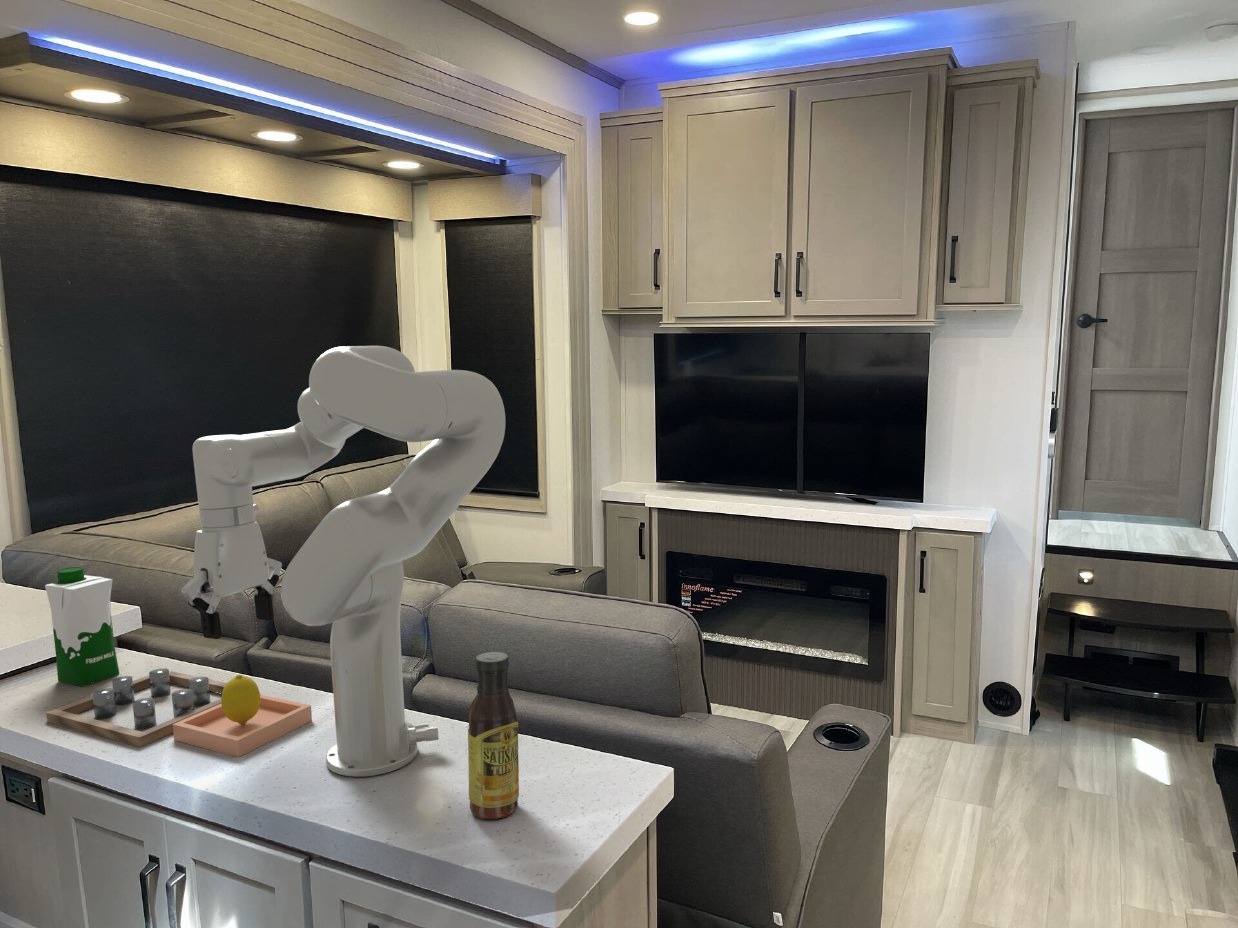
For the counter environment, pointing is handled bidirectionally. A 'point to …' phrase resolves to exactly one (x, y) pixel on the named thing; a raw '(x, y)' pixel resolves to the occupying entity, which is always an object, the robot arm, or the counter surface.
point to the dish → (242, 726)
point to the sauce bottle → (493, 741)
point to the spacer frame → (70, 719)
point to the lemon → (240, 699)
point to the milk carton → (82, 627)
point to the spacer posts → (145, 706)
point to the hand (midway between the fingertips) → (239, 628)
